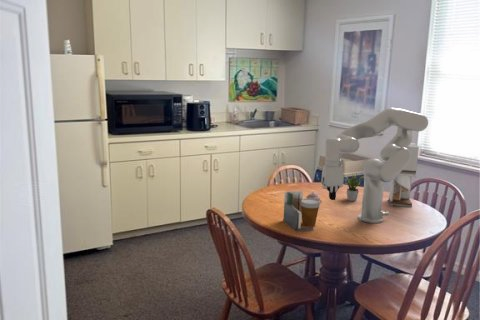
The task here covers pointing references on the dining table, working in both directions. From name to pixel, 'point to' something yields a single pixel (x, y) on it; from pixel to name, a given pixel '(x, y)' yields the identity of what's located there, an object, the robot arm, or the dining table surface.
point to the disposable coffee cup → (309, 211)
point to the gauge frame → (293, 210)
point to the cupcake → (314, 197)
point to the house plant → (352, 188)
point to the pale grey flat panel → (297, 213)
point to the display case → (404, 181)
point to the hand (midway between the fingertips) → (332, 199)
